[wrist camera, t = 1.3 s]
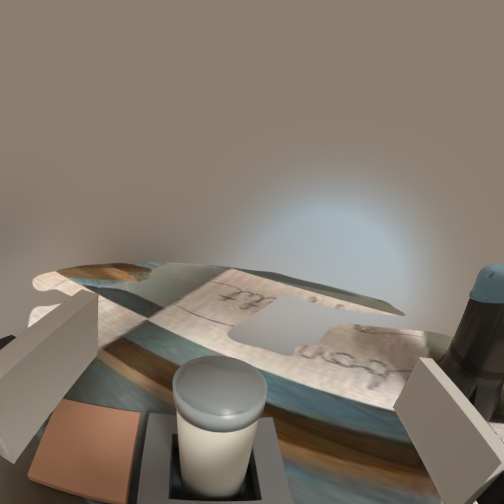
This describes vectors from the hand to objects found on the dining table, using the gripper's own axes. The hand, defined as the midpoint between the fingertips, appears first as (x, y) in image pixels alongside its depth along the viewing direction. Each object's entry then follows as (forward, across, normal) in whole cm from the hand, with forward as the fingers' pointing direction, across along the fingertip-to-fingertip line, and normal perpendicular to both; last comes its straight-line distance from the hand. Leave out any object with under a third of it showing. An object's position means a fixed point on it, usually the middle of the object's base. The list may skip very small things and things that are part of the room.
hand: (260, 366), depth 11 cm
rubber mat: (+10, -14, -24) cm, 29 cm away
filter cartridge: (+10, 0, -22) cm, 25 cm away
